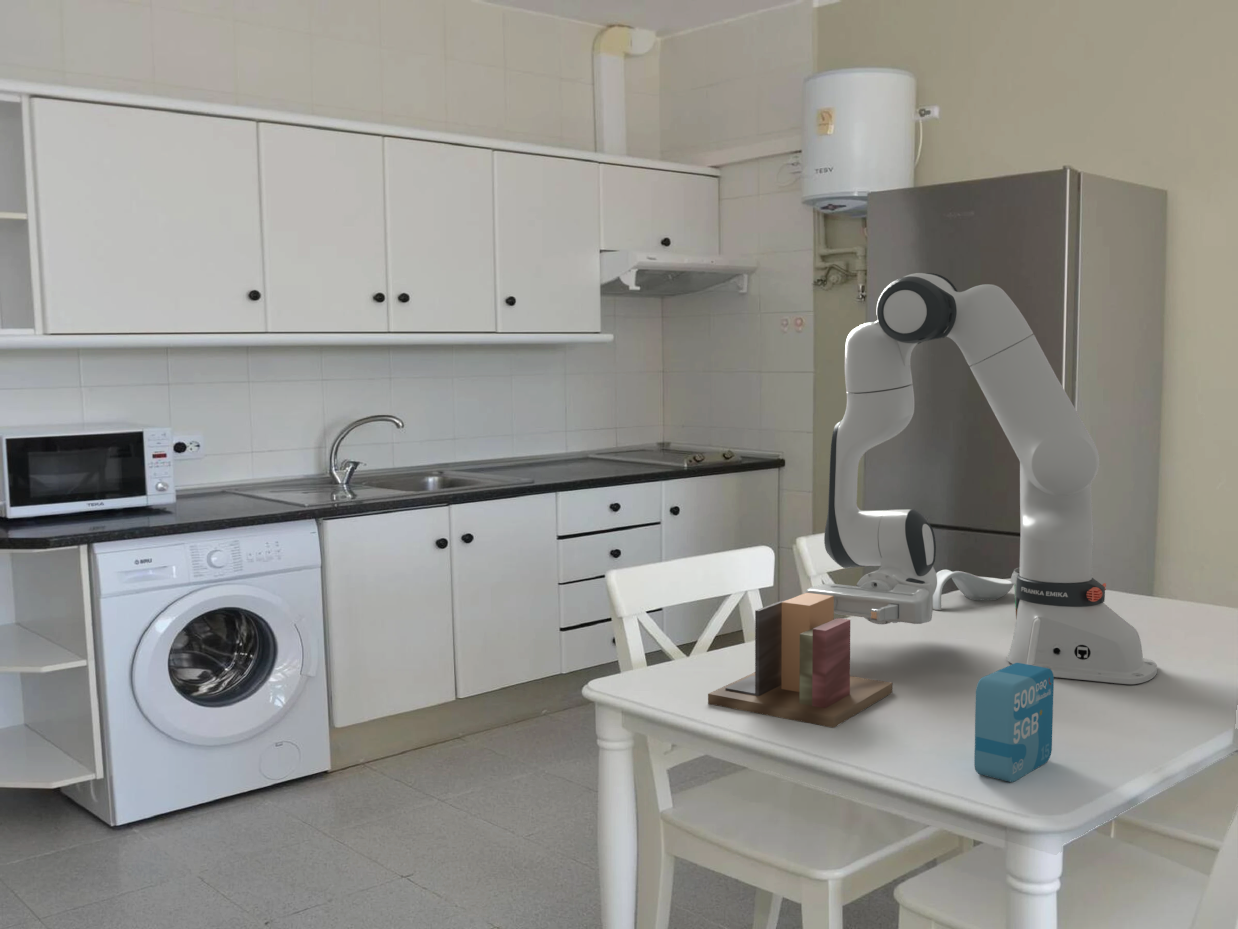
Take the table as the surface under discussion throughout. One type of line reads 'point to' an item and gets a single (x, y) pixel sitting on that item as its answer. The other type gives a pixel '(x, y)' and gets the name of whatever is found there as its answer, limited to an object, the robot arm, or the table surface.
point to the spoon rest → (971, 586)
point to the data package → (1013, 721)
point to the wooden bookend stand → (802, 676)
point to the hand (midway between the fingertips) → (847, 612)
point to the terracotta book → (800, 630)
